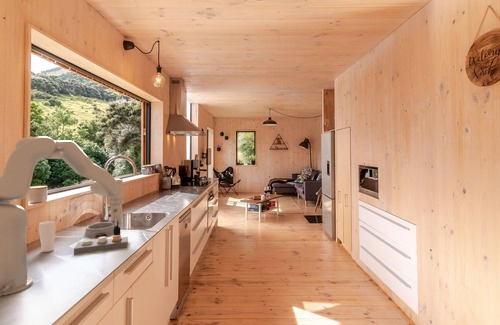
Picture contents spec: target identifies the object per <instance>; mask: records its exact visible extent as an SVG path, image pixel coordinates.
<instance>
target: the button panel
mask: <svg viewBox="0 0 500 325" xmlns="http://www.w3.org/2000/svg"><path fill="white" fill-rule="evenodd" d="M128 239H129V237H128V236H121V241H118V242H113V237H111V238H107V243H102V244H98V239H97V240H92V245H86V246H83V241H80V242H77V243H76V245H75V246H74V248H73V254H74V255H80V254H81V253H82V254H87V253H88V254H89V253H96V252H103V251H110V250H118V249H126V248H127V247H128V242H129V240H128ZM82 254H81V255H82Z"/></svg>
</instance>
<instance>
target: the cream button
mask: <svg viewBox="0 0 500 325" xmlns="http://www.w3.org/2000/svg"><path fill="white" fill-rule="evenodd" d="M107 239H108V238H107V236H98V238H97V240H98V244H102V243H107Z"/></svg>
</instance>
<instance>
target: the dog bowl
mask: <svg viewBox="0 0 500 325" xmlns="http://www.w3.org/2000/svg"><path fill="white" fill-rule="evenodd" d="M113 228H114V224H112V221H104V222H96V223H92V224H89V225H87V226H86V229H85V232H84V237H85V238H92V239H93V238H96V237H101V236H105V235H106V237H107V236H111V235H114V229H113Z"/></svg>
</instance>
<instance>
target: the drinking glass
mask: <svg viewBox="0 0 500 325" xmlns="http://www.w3.org/2000/svg"><path fill="white" fill-rule="evenodd" d="M38 234H39V240H40V245H41V246H40V247H41V249H40V250H41V252H42V253H49V252H52V251H54V250H55V240H56V239H55V237H56V222H55V220H47V221H42V222H39V223H38Z"/></svg>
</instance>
